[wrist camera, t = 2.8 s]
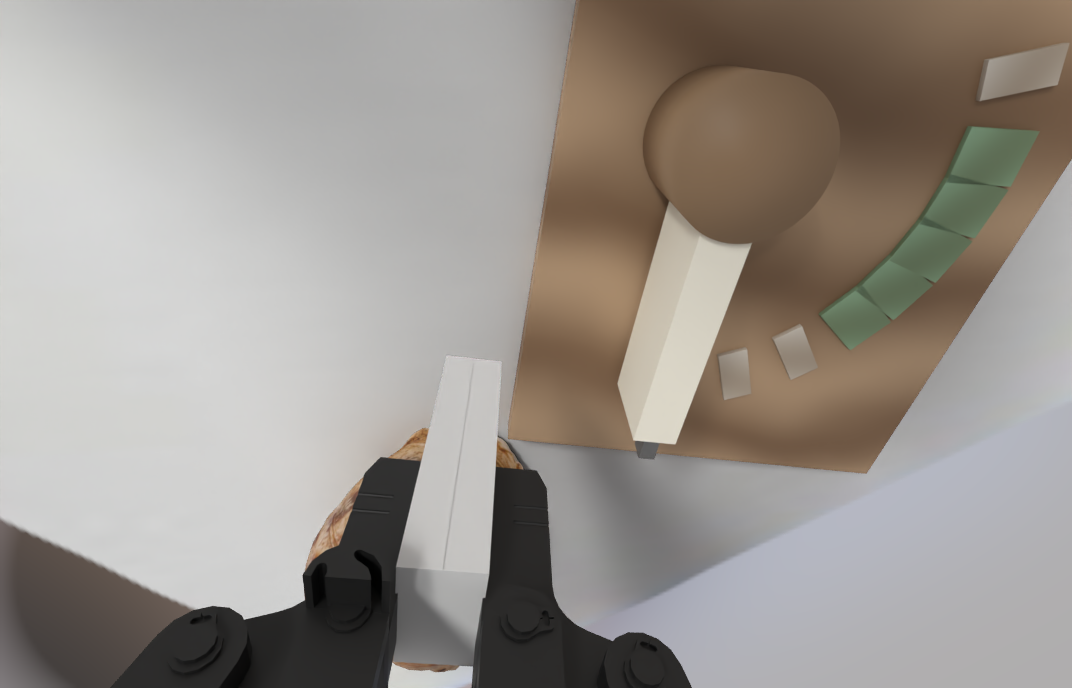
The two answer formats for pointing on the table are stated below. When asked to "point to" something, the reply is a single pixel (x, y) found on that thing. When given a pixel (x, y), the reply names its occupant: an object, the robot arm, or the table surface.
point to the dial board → (814, 241)
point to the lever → (716, 220)
